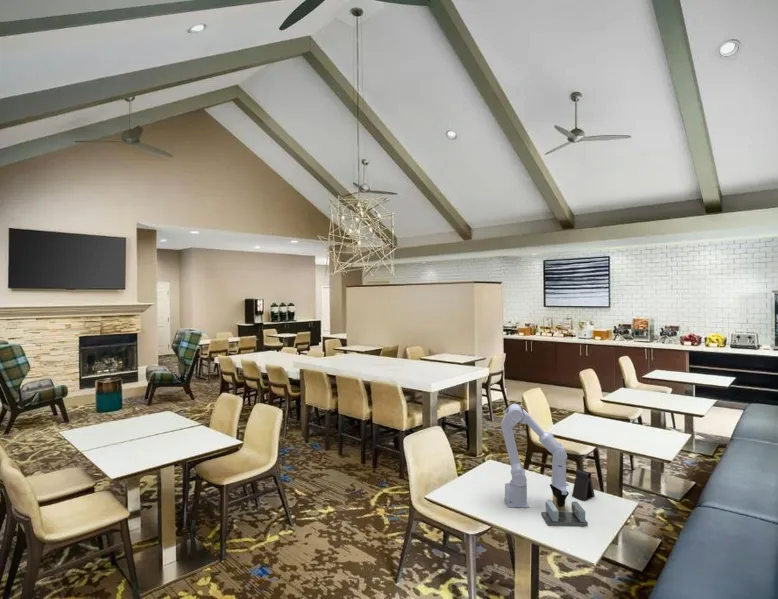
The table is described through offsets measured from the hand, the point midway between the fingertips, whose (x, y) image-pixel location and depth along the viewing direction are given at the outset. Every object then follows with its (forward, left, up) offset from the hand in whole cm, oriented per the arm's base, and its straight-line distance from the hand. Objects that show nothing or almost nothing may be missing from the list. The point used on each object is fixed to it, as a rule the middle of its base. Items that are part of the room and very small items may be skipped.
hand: (558, 504), depth 201 cm
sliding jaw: (-7, -12, 0) cm, 14 cm away
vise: (-2, -12, -1) cm, 12 cm away
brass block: (0, 0, -1) cm, 1 cm away
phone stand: (+15, +11, -2) cm, 19 cm away
